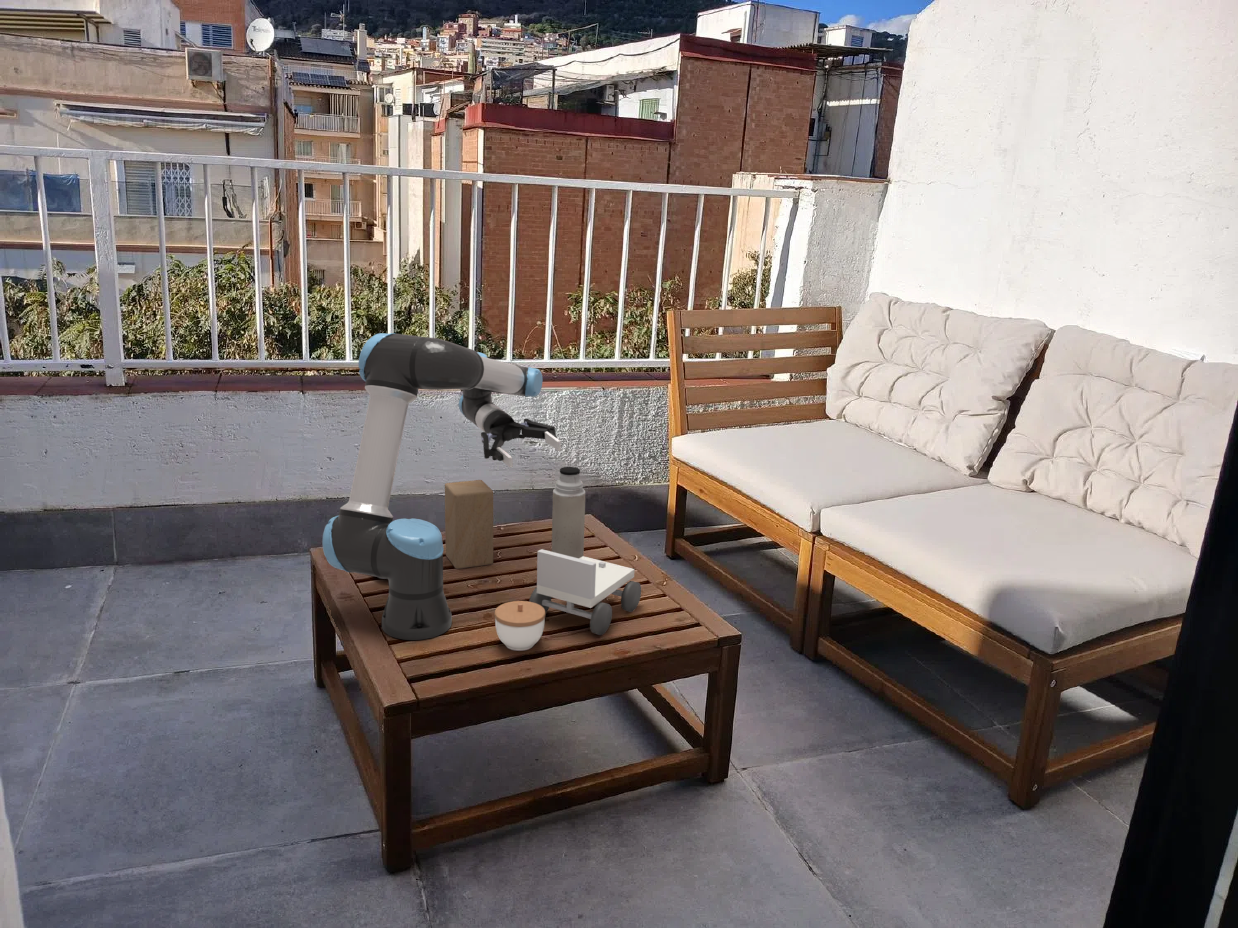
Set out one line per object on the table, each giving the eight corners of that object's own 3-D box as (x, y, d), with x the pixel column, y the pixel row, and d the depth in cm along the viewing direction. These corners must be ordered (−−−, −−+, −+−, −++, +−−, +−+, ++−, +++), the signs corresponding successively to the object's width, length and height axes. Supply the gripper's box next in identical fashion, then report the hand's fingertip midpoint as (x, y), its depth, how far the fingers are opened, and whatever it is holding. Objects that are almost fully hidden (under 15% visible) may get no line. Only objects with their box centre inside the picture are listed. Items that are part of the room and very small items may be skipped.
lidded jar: (484, 645, 208) (484, 605, 206) (516, 628, 217) (516, 589, 214) (523, 661, 203) (523, 620, 200) (554, 642, 211) (555, 602, 208)
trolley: (595, 640, 213) (598, 568, 208) (528, 620, 221) (529, 550, 216) (640, 605, 230) (643, 538, 225) (576, 588, 238) (578, 522, 233)
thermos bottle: (546, 571, 248) (548, 465, 239) (575, 566, 251) (578, 462, 243) (558, 583, 241) (560, 475, 233) (587, 578, 244) (591, 471, 236)
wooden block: (445, 555, 255) (444, 482, 249) (482, 550, 259) (481, 478, 253) (455, 569, 246) (454, 494, 240) (493, 564, 250) (493, 490, 244)
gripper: (538, 422, 263) (579, 452, 248) (453, 449, 252) (491, 483, 236) (535, 397, 260) (577, 426, 244) (450, 423, 248) (488, 455, 232)
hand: (535, 454), depth 240 cm, fingers open, 13 cm apart
